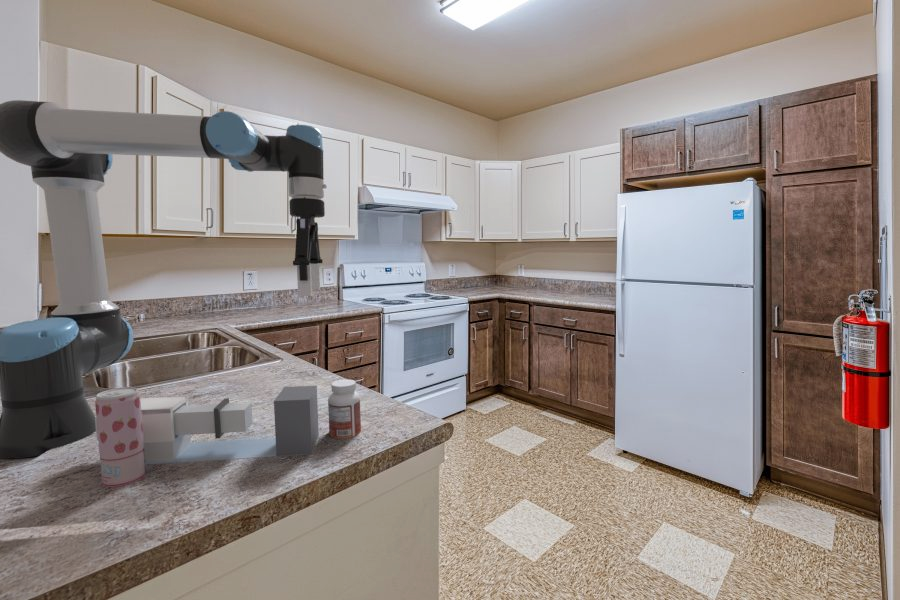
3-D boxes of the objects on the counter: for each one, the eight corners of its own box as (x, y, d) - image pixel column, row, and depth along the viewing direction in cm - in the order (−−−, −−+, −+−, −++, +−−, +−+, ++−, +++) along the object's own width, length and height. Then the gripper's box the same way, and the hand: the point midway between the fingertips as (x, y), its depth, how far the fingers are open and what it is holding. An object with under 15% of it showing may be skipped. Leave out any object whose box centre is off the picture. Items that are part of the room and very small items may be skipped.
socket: (276, 456, 77) (273, 401, 76) (286, 437, 85) (284, 386, 84) (311, 453, 78) (309, 399, 77) (318, 435, 86) (316, 385, 85)
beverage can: (93, 489, 68) (84, 396, 66) (128, 472, 74) (121, 385, 72) (121, 495, 67) (113, 399, 65) (155, 476, 72) (148, 388, 70)
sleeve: (116, 464, 74) (112, 411, 73) (138, 447, 81) (134, 398, 80) (174, 460, 75) (170, 408, 74) (191, 444, 82) (187, 395, 81)
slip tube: (94, 445, 74) (91, 414, 73) (114, 432, 79) (111, 403, 79) (244, 436, 77) (243, 407, 77) (253, 424, 83) (252, 397, 82)
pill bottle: (349, 427, 92) (348, 376, 91) (367, 436, 88) (366, 382, 87) (323, 436, 87) (321, 382, 86) (340, 446, 83) (338, 389, 82)
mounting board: (114, 472, 74) (114, 466, 73) (141, 450, 81) (140, 445, 81) (311, 459, 78) (311, 453, 78) (318, 440, 86) (318, 435, 86)
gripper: (316, 192, 87) (319, 298, 89) (330, 204, 111) (332, 288, 114) (276, 191, 86) (280, 299, 88) (299, 204, 110) (302, 288, 113)
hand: (309, 293), depth 101 cm, fingers open, 13 cm apart
